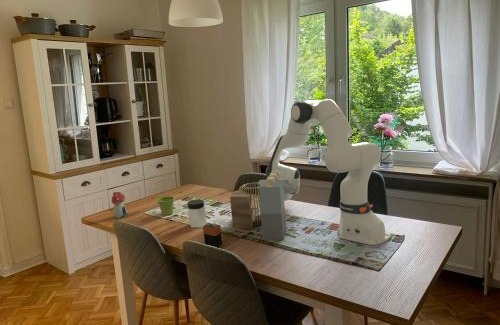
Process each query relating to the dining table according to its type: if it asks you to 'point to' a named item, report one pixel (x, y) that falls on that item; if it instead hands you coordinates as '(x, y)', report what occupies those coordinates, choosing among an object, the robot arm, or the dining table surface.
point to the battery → (212, 234)
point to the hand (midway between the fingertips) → (277, 180)
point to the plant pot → (166, 204)
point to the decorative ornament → (119, 205)
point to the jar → (196, 213)
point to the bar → (272, 178)
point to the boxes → (262, 210)
